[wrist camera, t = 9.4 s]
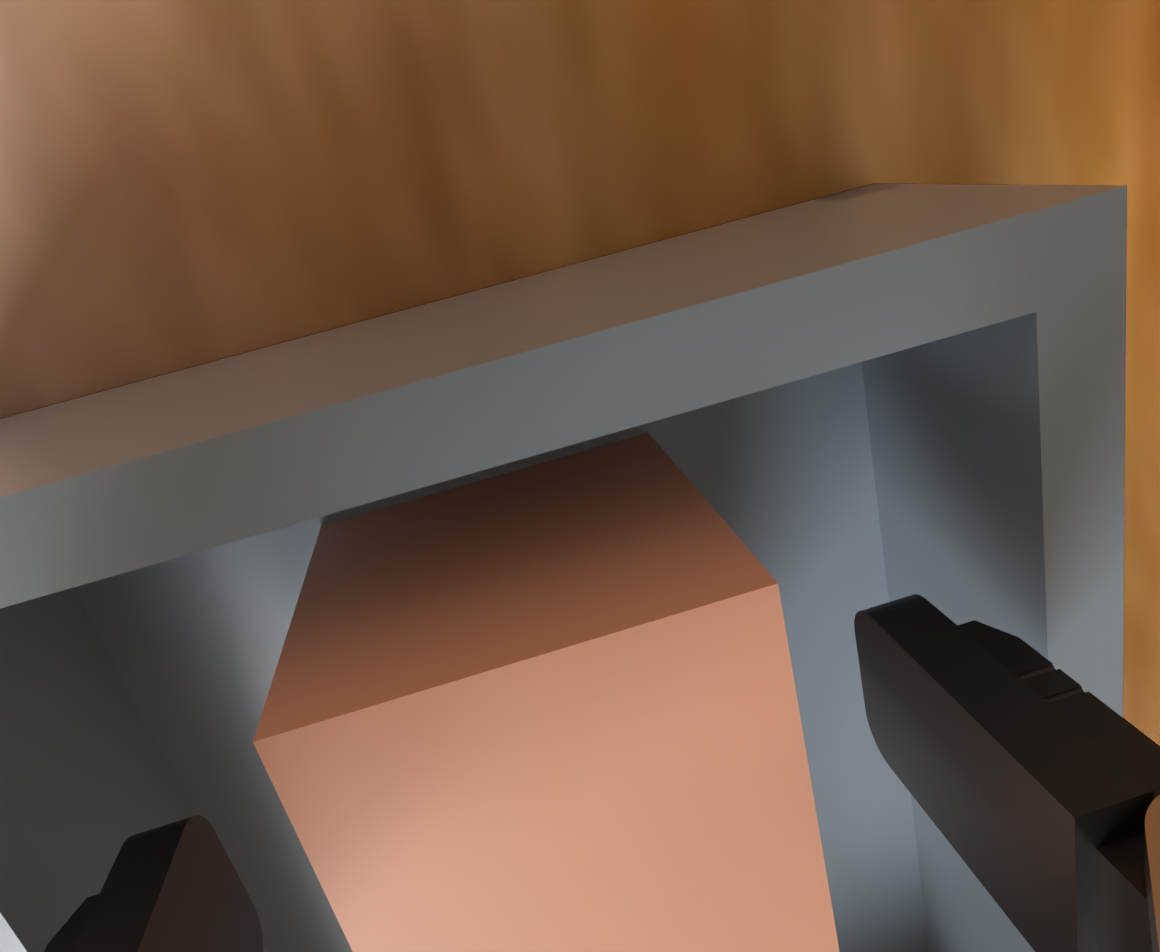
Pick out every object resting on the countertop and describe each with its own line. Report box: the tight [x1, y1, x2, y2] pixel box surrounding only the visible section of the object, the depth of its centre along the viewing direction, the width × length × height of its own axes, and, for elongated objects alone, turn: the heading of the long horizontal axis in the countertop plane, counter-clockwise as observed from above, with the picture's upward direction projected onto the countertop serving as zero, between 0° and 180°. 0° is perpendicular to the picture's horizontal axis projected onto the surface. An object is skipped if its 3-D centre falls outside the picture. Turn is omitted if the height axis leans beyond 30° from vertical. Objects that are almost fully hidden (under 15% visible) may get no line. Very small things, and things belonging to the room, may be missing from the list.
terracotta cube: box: [253, 433, 840, 952], centre depth 11 cm, size 5×5×5 cm
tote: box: [0, 183, 1127, 952], centre depth 13 cm, size 18×14×5 cm
